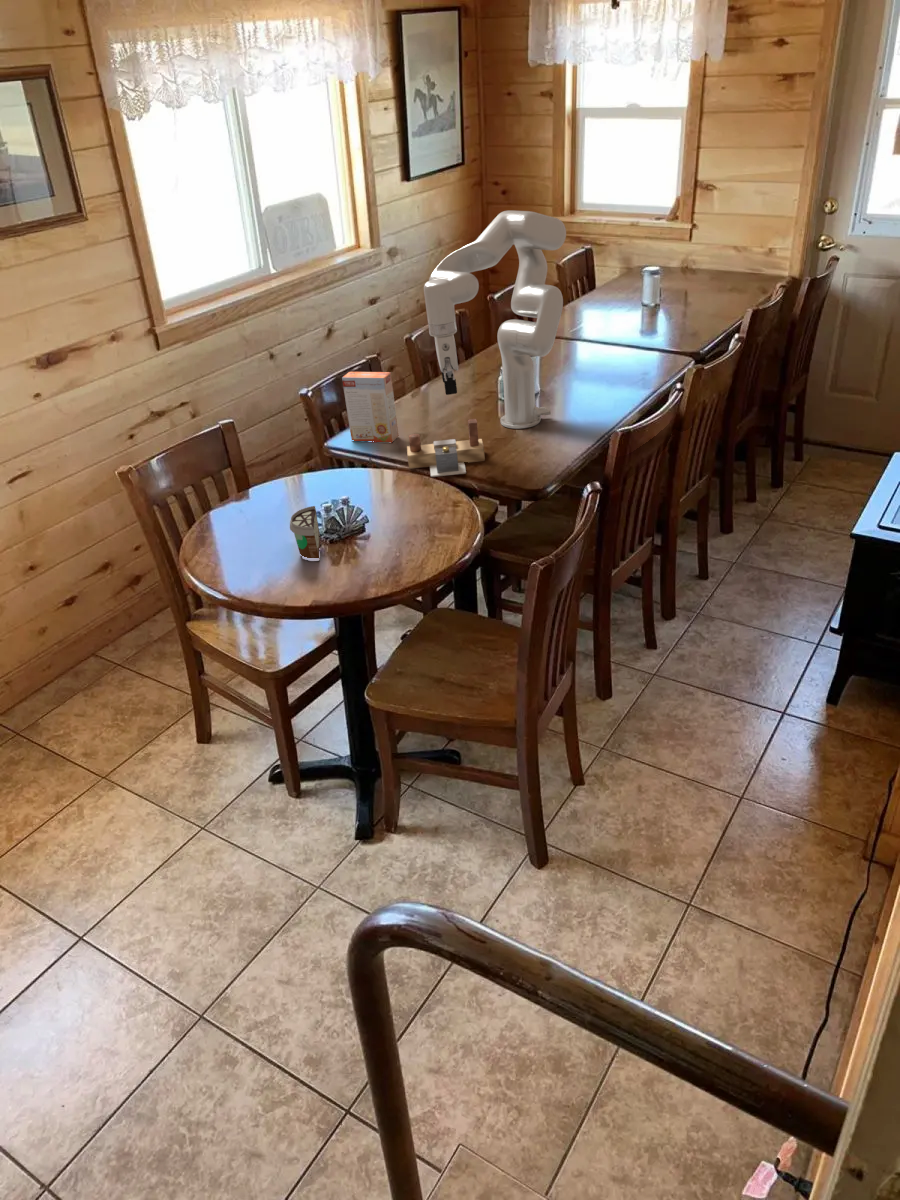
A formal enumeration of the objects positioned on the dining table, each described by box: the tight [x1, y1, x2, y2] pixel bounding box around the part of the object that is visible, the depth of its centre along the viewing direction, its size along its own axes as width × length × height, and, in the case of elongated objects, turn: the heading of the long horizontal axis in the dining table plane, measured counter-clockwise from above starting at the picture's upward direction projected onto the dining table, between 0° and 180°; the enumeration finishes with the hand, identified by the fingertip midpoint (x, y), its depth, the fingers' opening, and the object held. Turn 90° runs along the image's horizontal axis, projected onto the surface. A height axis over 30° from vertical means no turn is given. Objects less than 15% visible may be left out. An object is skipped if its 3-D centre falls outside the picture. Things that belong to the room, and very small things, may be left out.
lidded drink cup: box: [289, 505, 321, 558], centre depth 218 cm, size 12×6×10 cm, turn 5°
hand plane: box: [406, 418, 486, 469], centre depth 259 cm, size 22×7×11 cm, turn 94°
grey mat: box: [429, 462, 467, 478], centre depth 256 cm, size 10×7×1 cm
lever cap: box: [435, 446, 459, 473], centre depth 254 cm, size 6×4×6 cm
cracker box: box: [341, 371, 399, 444], centre depth 275 cm, size 14×6×21 cm, turn 71°
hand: (450, 387), depth 252 cm, fingers open, 9 cm apart
